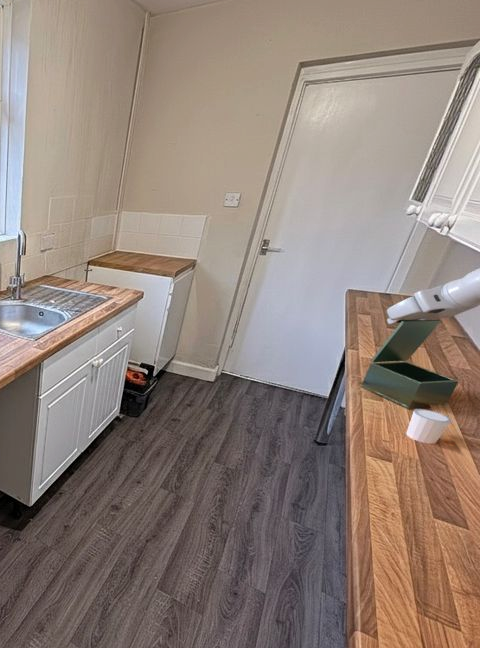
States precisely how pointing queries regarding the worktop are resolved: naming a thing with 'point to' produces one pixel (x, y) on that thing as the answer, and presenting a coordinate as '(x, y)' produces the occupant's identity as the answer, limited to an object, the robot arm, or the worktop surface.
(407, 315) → the robot arm
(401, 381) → the green box
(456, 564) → the worktop surface
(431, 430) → the white ramekin
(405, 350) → the box lid
